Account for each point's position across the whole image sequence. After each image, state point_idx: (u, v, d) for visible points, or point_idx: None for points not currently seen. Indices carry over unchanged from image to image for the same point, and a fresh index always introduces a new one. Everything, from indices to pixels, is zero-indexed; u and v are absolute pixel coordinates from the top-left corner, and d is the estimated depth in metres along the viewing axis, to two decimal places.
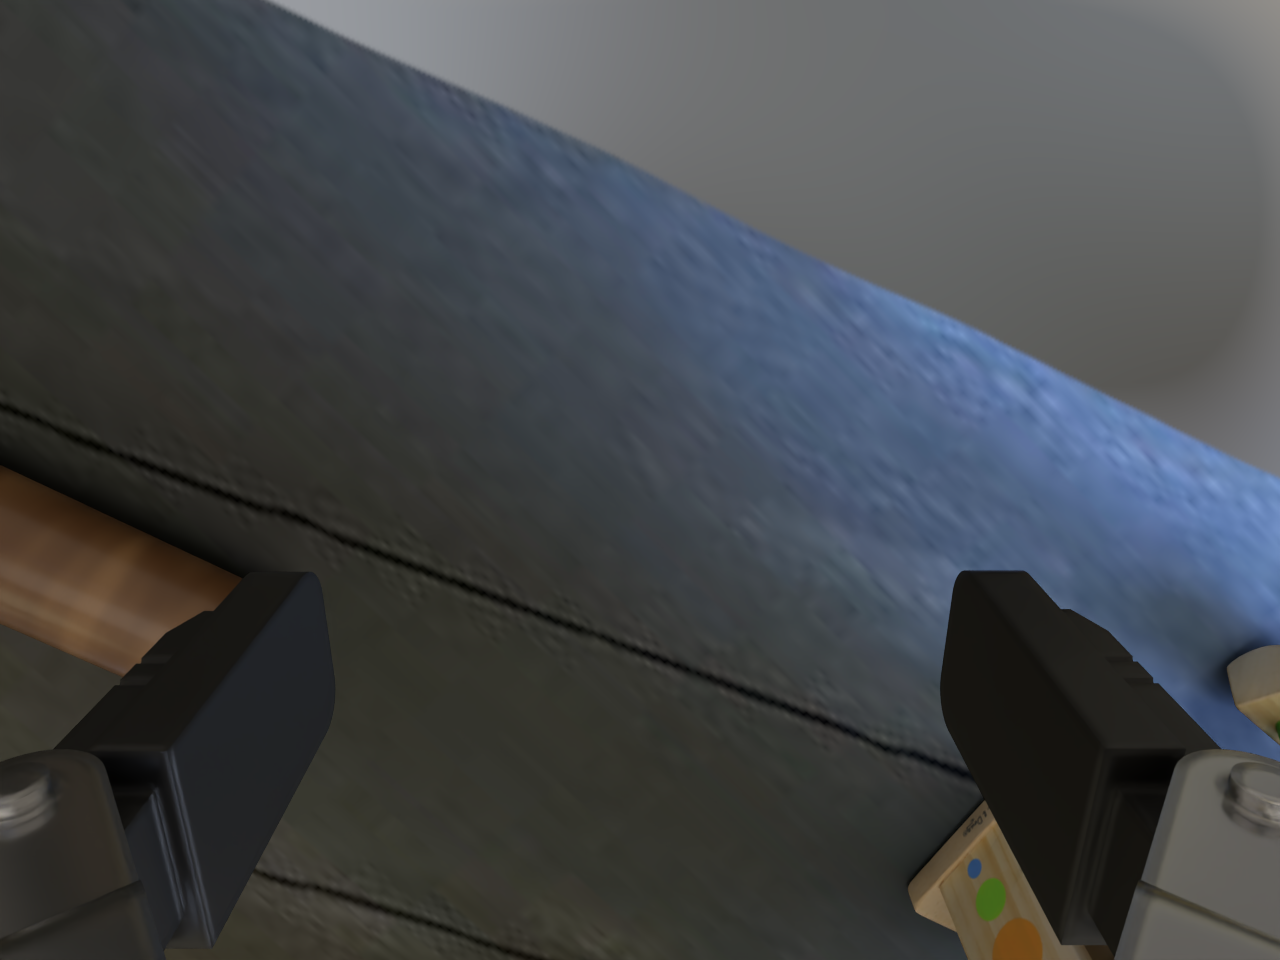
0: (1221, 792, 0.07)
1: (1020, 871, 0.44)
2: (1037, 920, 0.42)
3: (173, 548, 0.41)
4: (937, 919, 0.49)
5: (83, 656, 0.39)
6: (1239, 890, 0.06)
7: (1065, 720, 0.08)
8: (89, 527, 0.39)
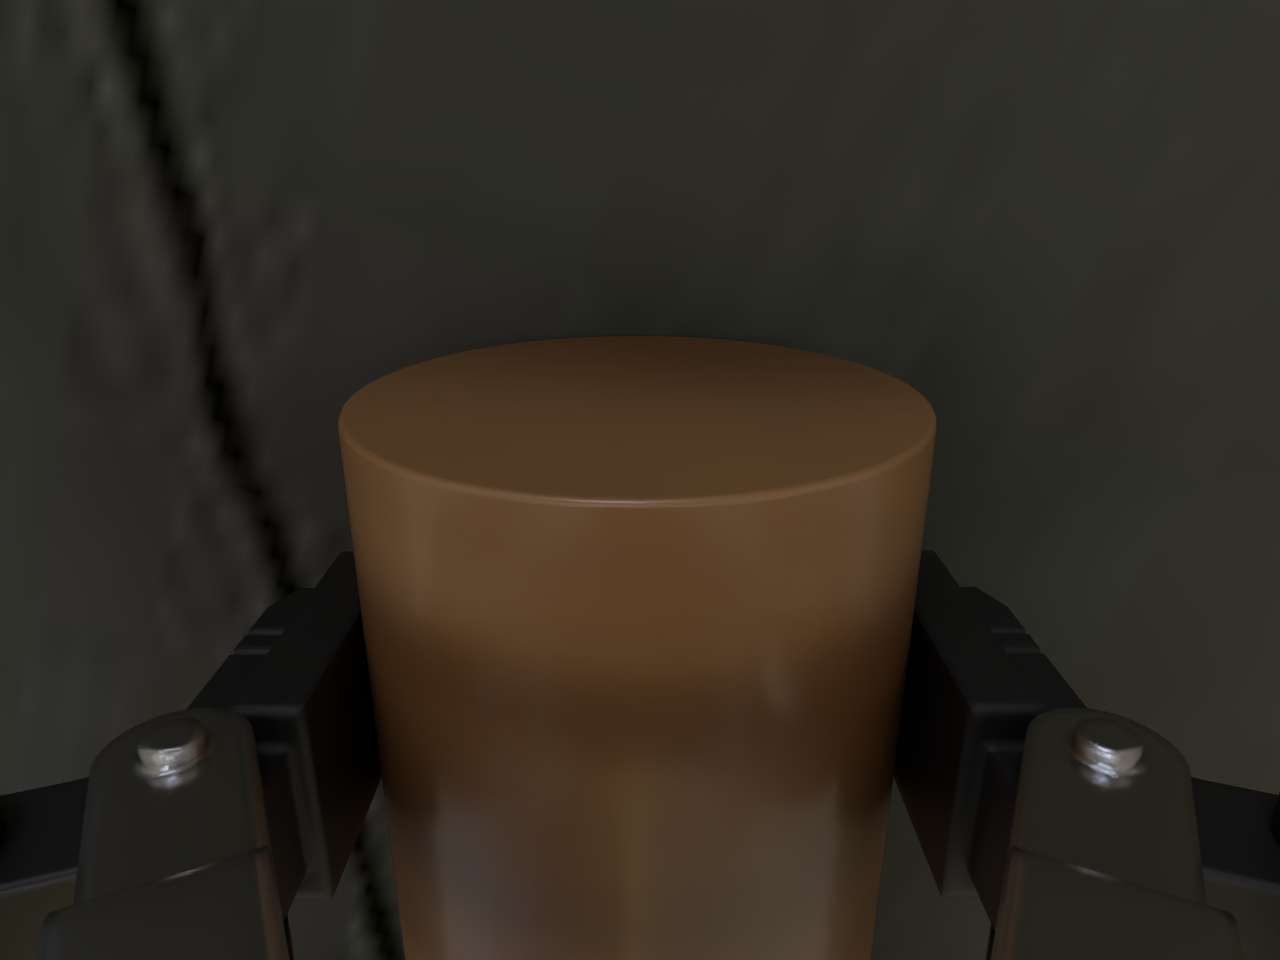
0: (1066, 745, 0.07)
1: None
2: None
3: None
4: None
5: None
6: (1095, 841, 0.06)
7: (944, 685, 0.09)
8: None
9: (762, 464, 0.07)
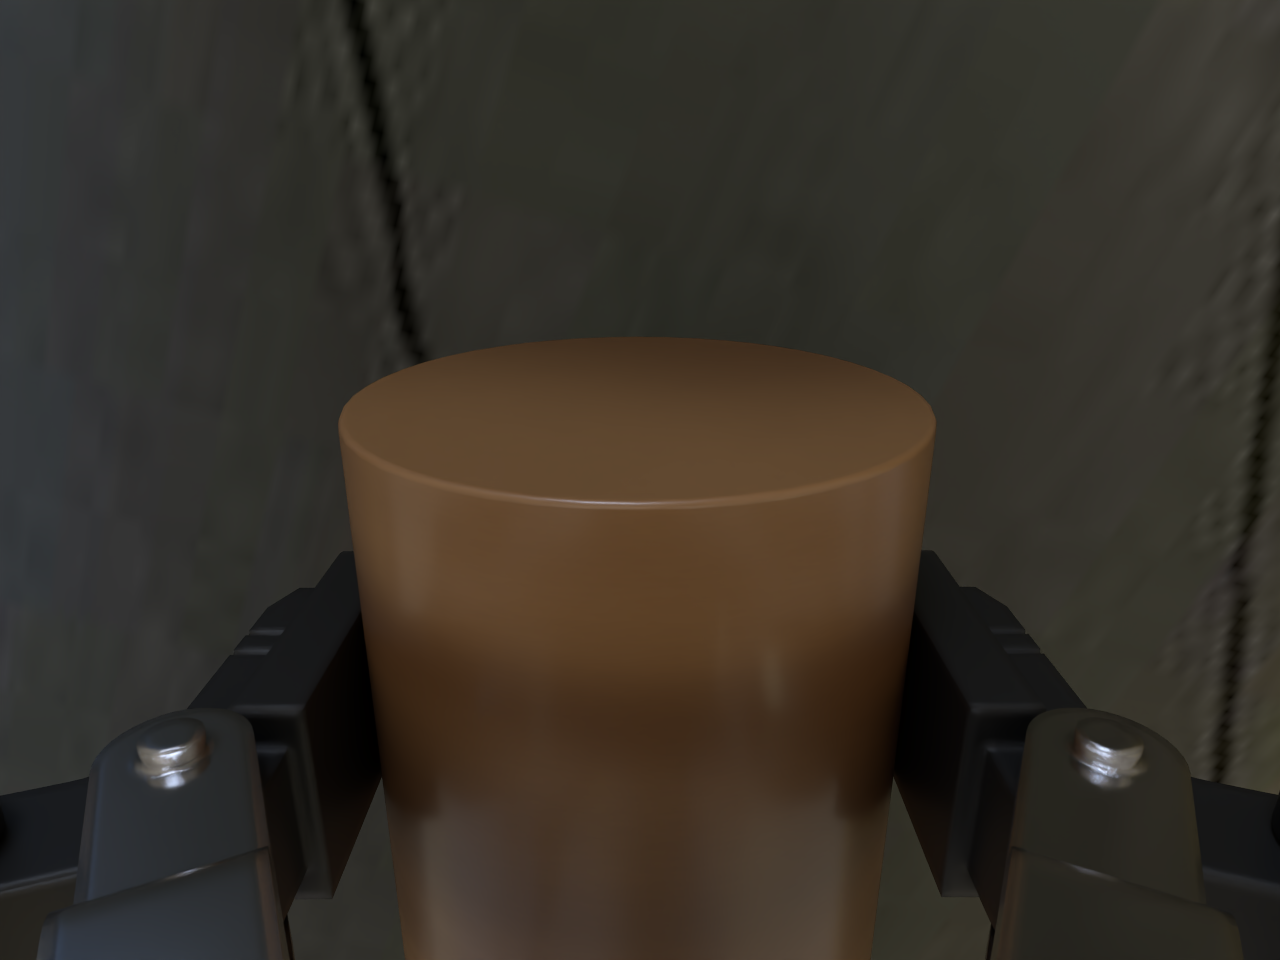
0: (1066, 746, 0.07)
1: None
2: None
3: None
4: None
5: None
6: (1095, 841, 0.06)
7: (944, 685, 0.09)
8: None
9: (760, 466, 0.07)
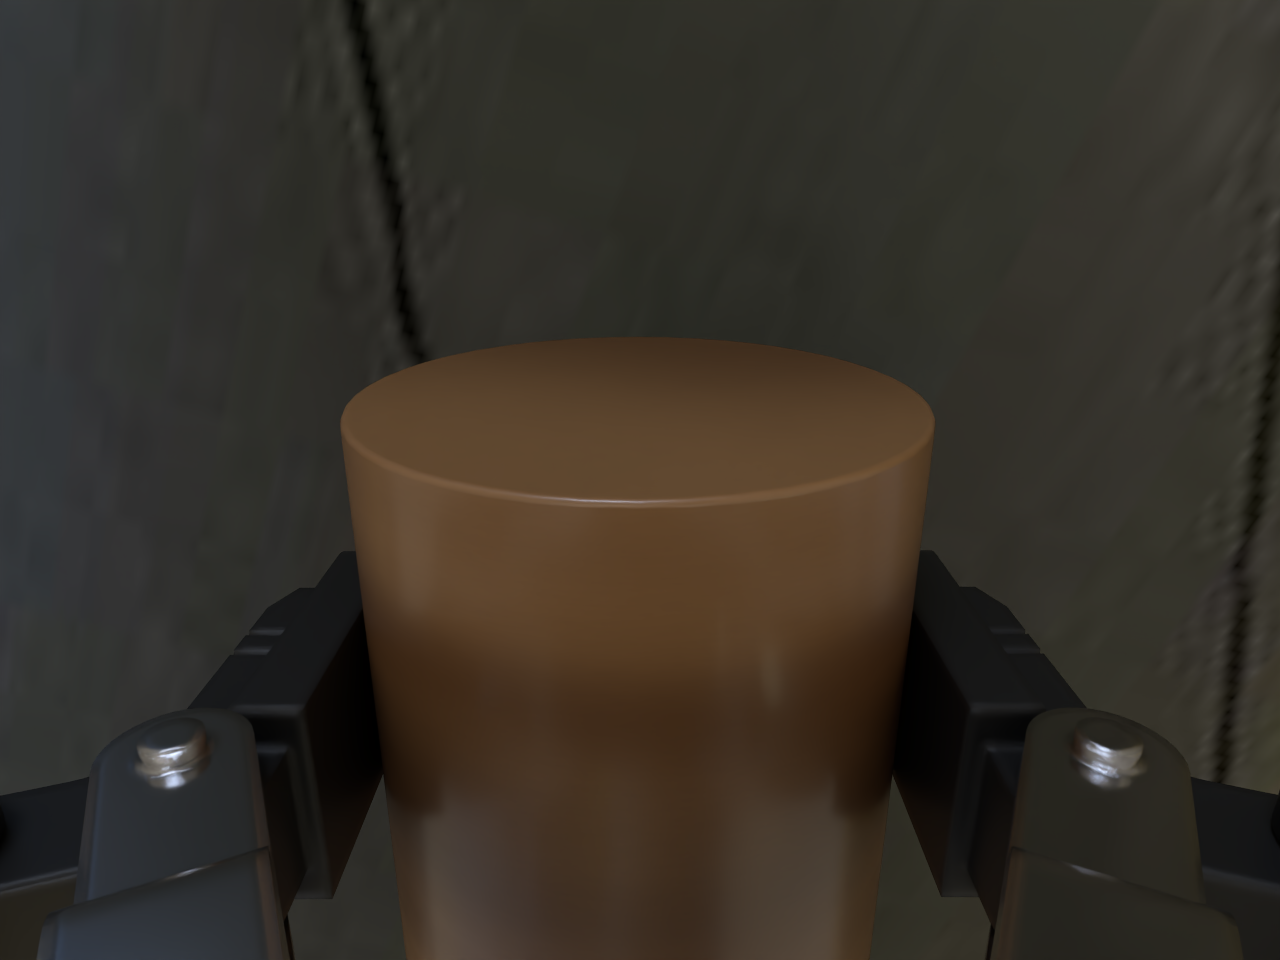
0: (1066, 745, 0.07)
1: None
2: None
3: None
4: None
5: None
6: (1095, 840, 0.06)
7: (944, 685, 0.09)
8: None
9: (760, 464, 0.07)
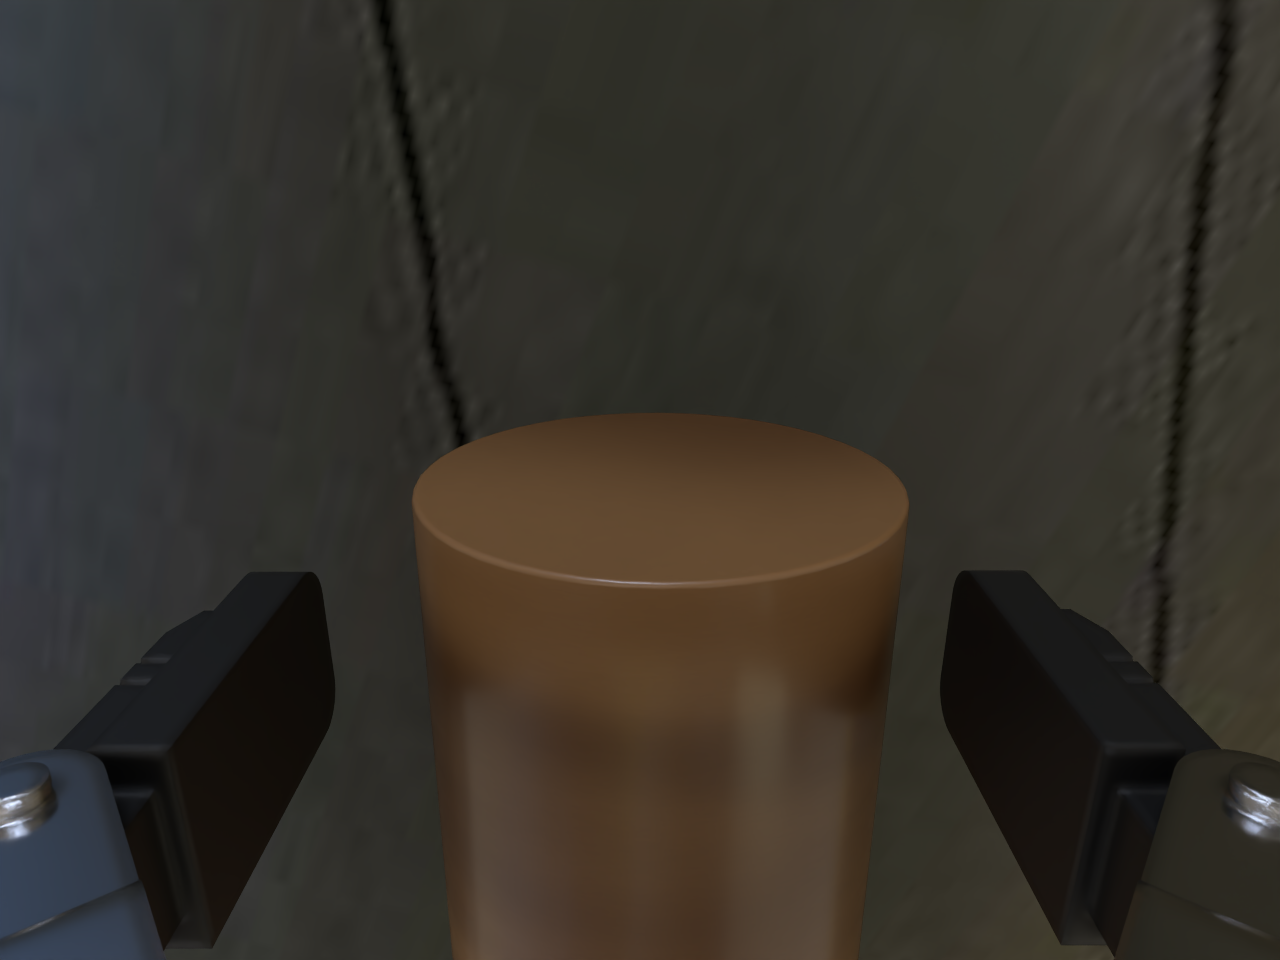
0: (1221, 792, 0.07)
1: None
2: None
3: None
4: None
5: None
6: (1240, 890, 0.06)
7: (1065, 720, 0.08)
8: None
9: (762, 549, 0.09)
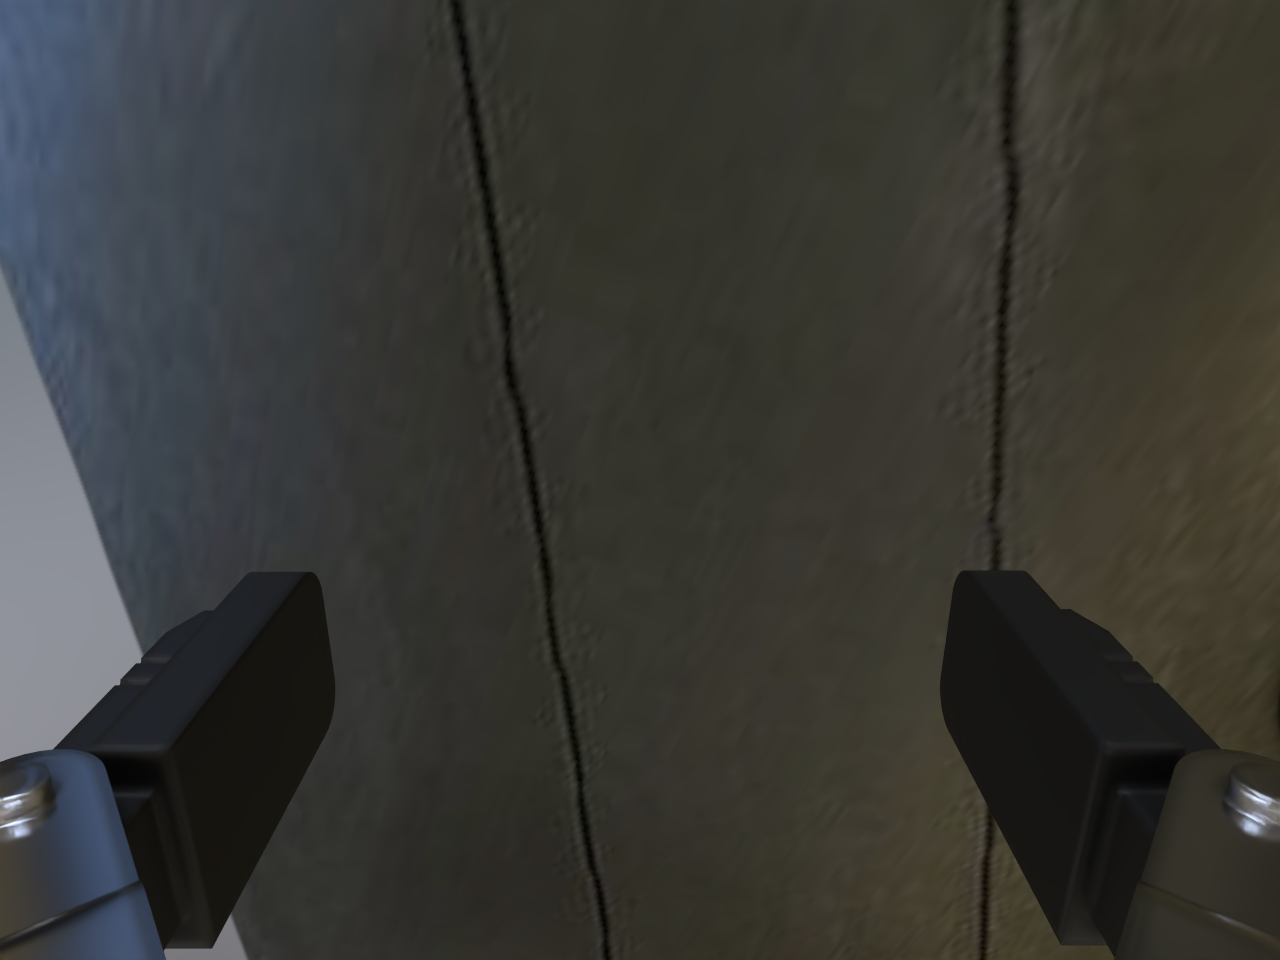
0: (1221, 792, 0.07)
1: None
2: None
3: None
4: None
5: None
6: (1239, 890, 0.06)
7: (1065, 720, 0.08)
8: None
9: None
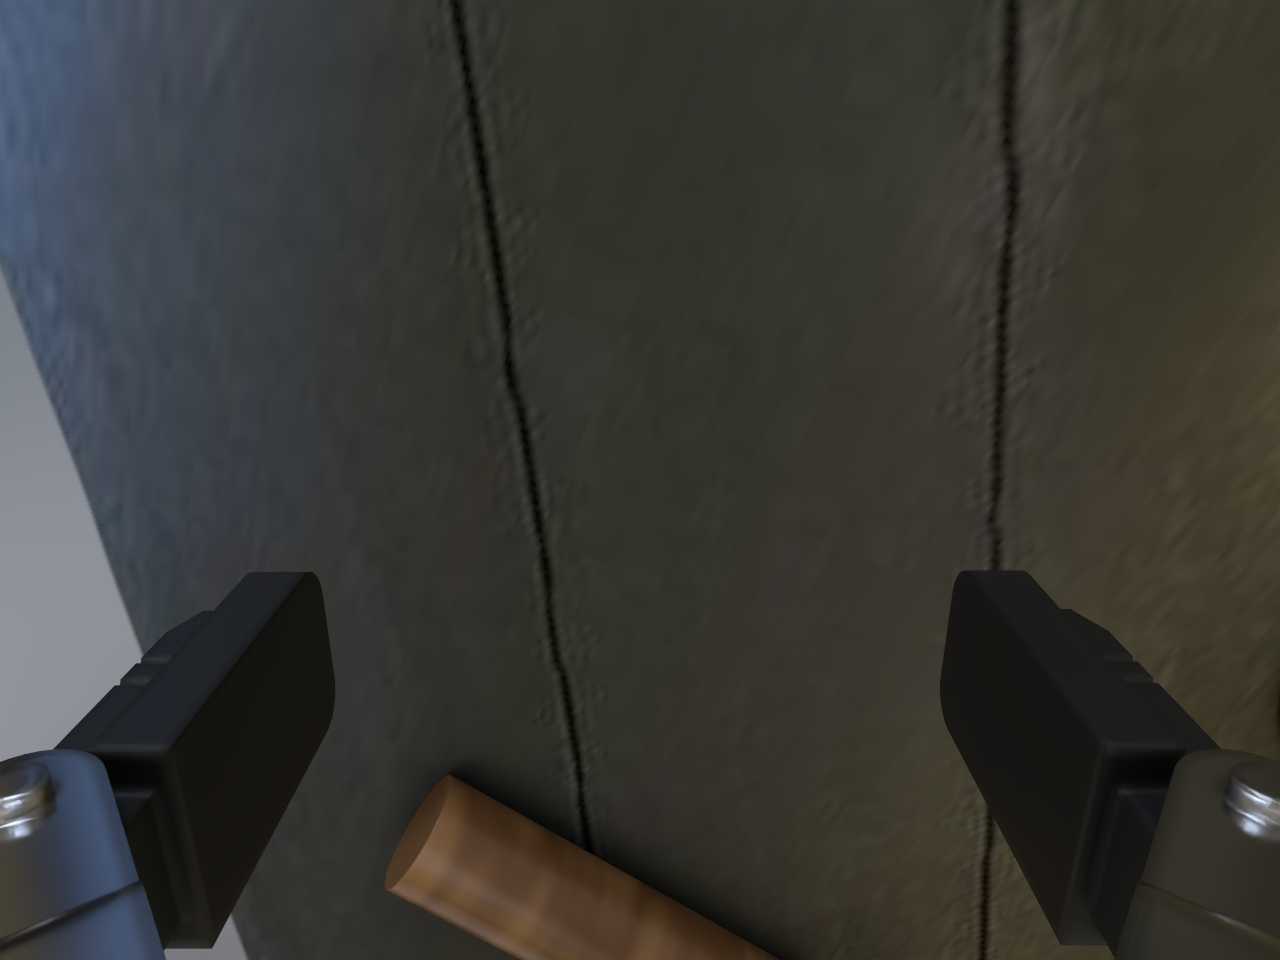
0: (1221, 792, 0.07)
1: None
2: None
3: None
4: None
5: (525, 903, 0.44)
6: (1239, 890, 0.06)
7: (1065, 720, 0.08)
8: None
9: (418, 850, 0.43)
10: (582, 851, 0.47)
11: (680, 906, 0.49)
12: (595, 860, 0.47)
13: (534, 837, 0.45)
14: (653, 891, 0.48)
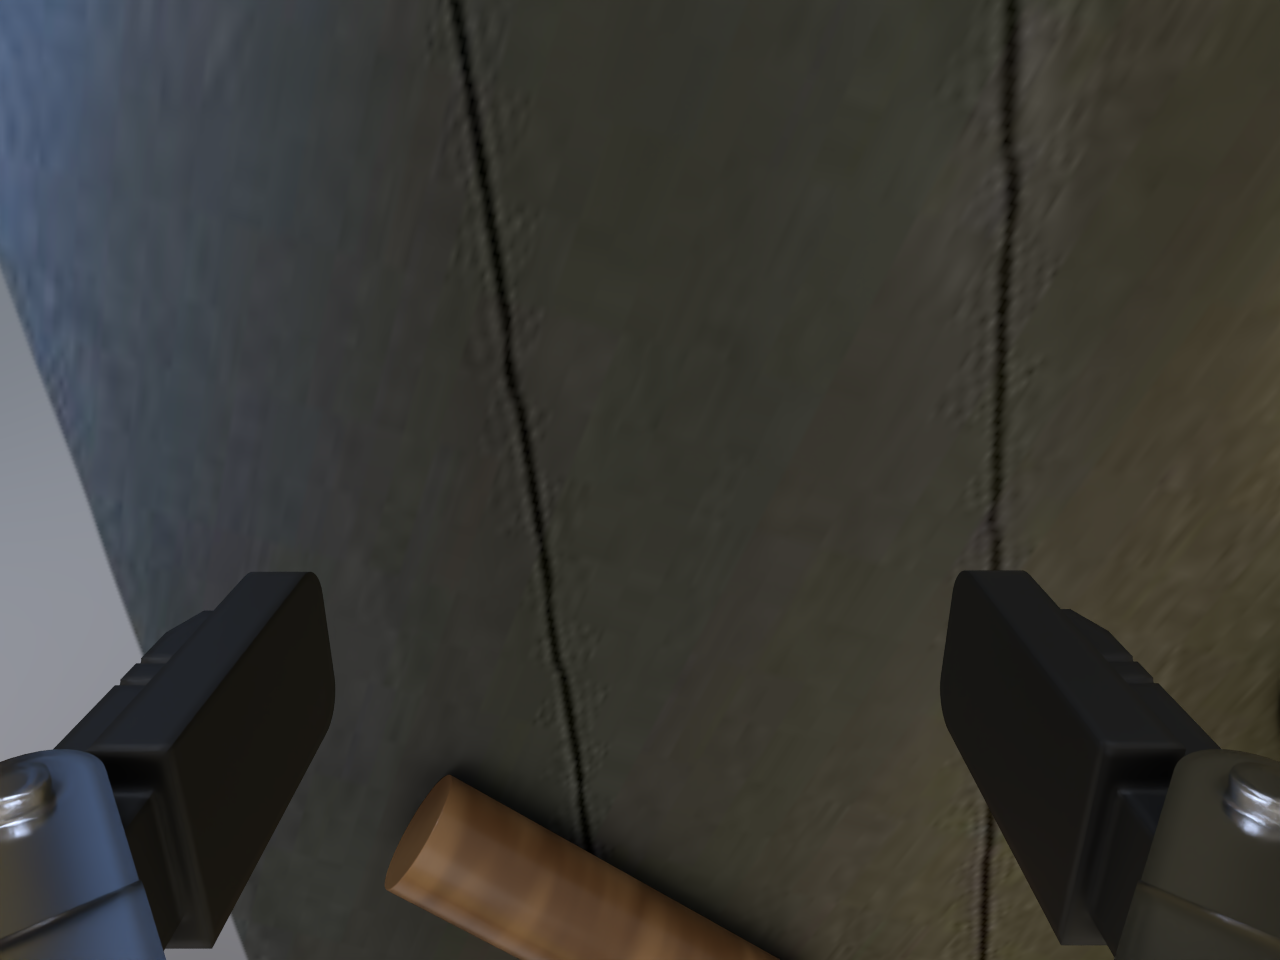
0: (1221, 792, 0.07)
1: None
2: None
3: None
4: None
5: (525, 903, 0.44)
6: (1239, 890, 0.06)
7: (1065, 720, 0.08)
8: None
9: (418, 850, 0.43)
10: (582, 851, 0.47)
11: (680, 906, 0.49)
12: (595, 860, 0.47)
13: (534, 837, 0.45)
14: (653, 891, 0.48)
